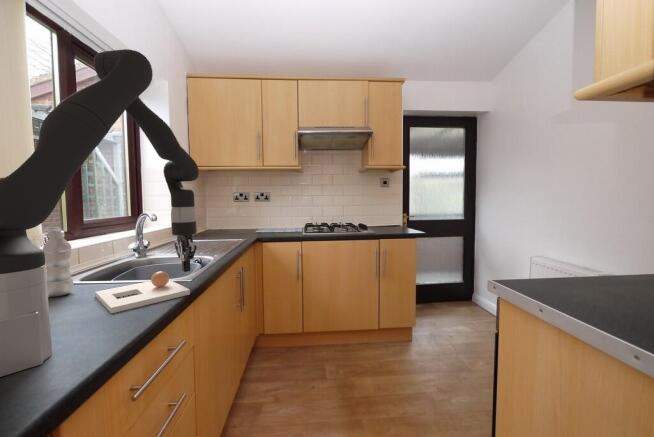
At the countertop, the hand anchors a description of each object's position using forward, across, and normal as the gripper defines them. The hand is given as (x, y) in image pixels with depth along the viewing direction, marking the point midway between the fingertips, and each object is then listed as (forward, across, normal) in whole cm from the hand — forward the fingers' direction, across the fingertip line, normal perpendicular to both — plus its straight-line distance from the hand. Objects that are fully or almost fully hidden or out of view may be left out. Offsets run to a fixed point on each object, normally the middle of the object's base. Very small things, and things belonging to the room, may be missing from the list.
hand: (186, 271), depth 99 cm
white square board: (+5, 0, +13) cm, 14 cm away
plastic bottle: (+5, +20, +30) cm, 37 cm away
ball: (+1, 0, +8) cm, 8 cm away
